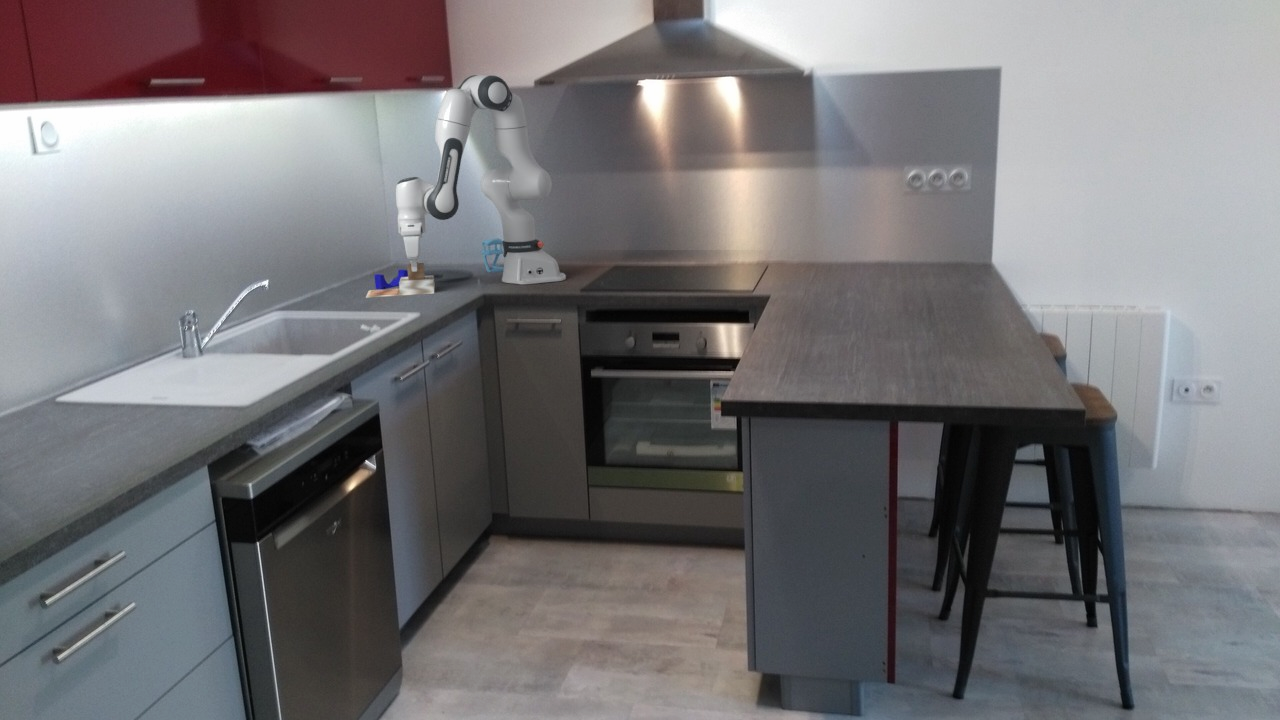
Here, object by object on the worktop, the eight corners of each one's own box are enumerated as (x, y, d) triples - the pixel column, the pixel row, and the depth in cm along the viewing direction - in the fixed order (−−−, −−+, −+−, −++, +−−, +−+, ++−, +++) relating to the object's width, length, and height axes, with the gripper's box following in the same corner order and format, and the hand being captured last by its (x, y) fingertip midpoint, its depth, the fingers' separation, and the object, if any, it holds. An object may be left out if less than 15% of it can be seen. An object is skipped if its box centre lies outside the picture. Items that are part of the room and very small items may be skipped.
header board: (435, 289, 363) (433, 274, 362) (434, 296, 350) (433, 281, 349) (369, 293, 360) (367, 278, 358) (365, 300, 347) (364, 285, 346)
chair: (499, 267, 403) (496, 236, 400) (507, 270, 396) (505, 238, 393) (480, 270, 399) (477, 238, 396) (488, 272, 392) (486, 240, 389)
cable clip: (400, 285, 372) (398, 269, 371) (408, 287, 370) (407, 270, 368) (373, 291, 363) (371, 274, 362) (381, 292, 360) (380, 275, 359)
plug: (425, 289, 357) (423, 262, 355) (425, 291, 354) (423, 264, 352) (410, 290, 357) (407, 263, 354) (409, 292, 354) (407, 265, 351)
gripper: (403, 224, 360) (406, 265, 363) (400, 231, 340) (404, 274, 343) (422, 223, 361) (425, 264, 364) (420, 230, 341) (423, 273, 344)
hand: (415, 269), depth 353 cm, fingers open, 8 cm apart
